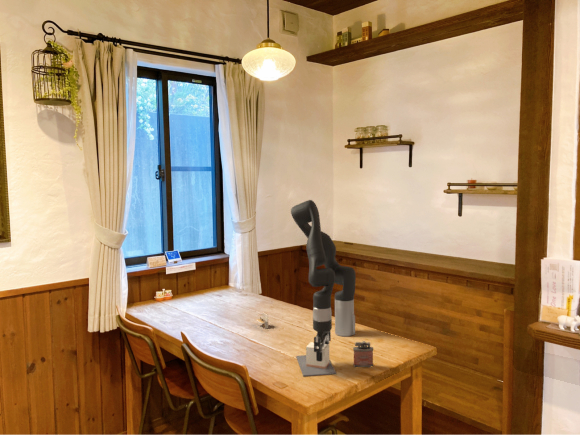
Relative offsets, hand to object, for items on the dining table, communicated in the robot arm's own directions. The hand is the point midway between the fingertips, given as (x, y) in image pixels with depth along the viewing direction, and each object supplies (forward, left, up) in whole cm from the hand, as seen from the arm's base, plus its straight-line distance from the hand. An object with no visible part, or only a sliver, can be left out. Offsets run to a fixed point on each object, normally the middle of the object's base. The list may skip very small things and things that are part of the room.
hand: (322, 356), depth 179 cm
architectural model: (+20, -53, -5) cm, 57 cm away
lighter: (-16, +2, -4) cm, 17 cm away
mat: (+3, -2, -4) cm, 5 cm away
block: (+2, -1, +4) cm, 5 cm away
